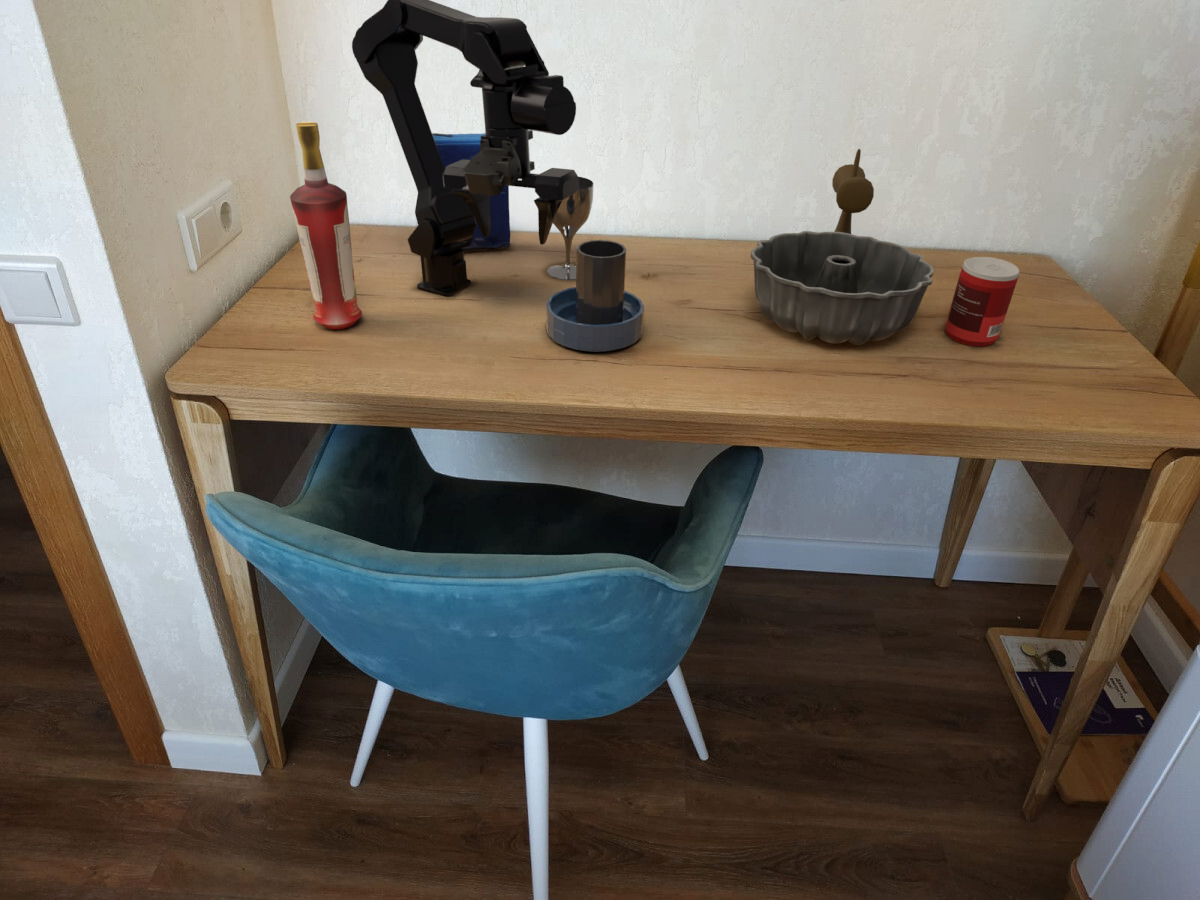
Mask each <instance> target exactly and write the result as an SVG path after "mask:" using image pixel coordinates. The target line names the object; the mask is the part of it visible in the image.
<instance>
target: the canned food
mask: <svg viewBox="0 0 1200 900" xmlns="http://www.w3.org/2000/svg"><path fill="white" fill-rule="evenodd" d="M1020 272H1021V271H1020V269H1019V267H1018V266H1017V265H1016V264H1014V263H1012V262H1010V261H1007V260H1005V259H1002V258H1001V259H1000V258H997V257H990V256H973V257H969V258H967V259H965V260H964V261H963V264H962V266H961V269H960V272H959V275H958V276H959V277H958V279H957V283H956V286H955V291H954V293H953V296H952V301H951V305H950V308H949V311H948V314H947V319H946V322H945V334H946V335H947V337H948V338H950V340H952V341H954V342H956V343H959V344H960V345H961V344H962V345H965V346H968V347H969V346H970V347H987V346H992V345H993V344H995V343H996V341H997V340H998V339H999V338H1000V334H1001V331H1002V328H1003V325H1004V322H1005V319H1006V316H1007V313H1008V310H1009V307H1010V304H1011V301H1012V298H1013V296H1014V292H1015V289H1016V286H1017V283H1018V279H1019V276H1020Z"/></svg>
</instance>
